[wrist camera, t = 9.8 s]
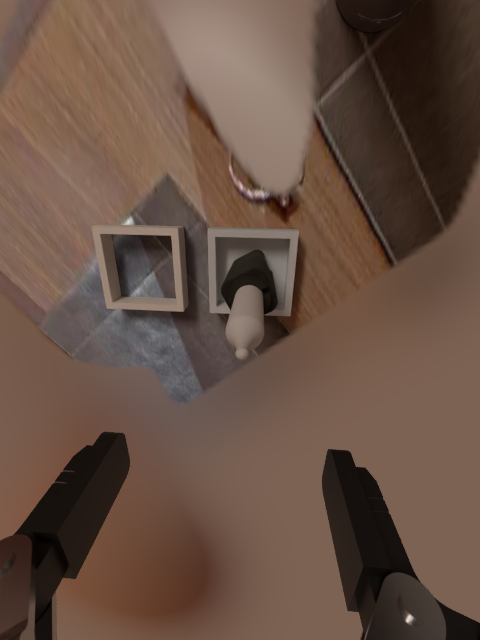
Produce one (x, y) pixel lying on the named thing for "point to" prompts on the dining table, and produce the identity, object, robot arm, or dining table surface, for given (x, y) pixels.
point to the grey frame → (111, 274)
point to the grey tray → (241, 241)
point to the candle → (248, 301)
